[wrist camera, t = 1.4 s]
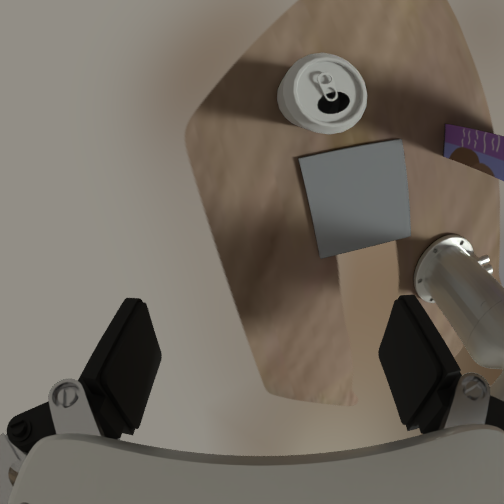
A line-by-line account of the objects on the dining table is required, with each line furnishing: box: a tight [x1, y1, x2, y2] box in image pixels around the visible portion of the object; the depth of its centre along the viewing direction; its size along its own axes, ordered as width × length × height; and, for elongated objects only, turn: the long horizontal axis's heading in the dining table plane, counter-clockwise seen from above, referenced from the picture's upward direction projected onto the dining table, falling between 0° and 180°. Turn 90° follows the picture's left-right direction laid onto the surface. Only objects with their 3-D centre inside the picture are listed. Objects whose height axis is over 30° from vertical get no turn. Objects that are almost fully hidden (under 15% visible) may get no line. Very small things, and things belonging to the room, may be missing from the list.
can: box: [277, 53, 367, 134], centre depth 25 cm, size 8×8×12 cm
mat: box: [298, 139, 411, 259], centre depth 35 cm, size 14×14×1 cm
